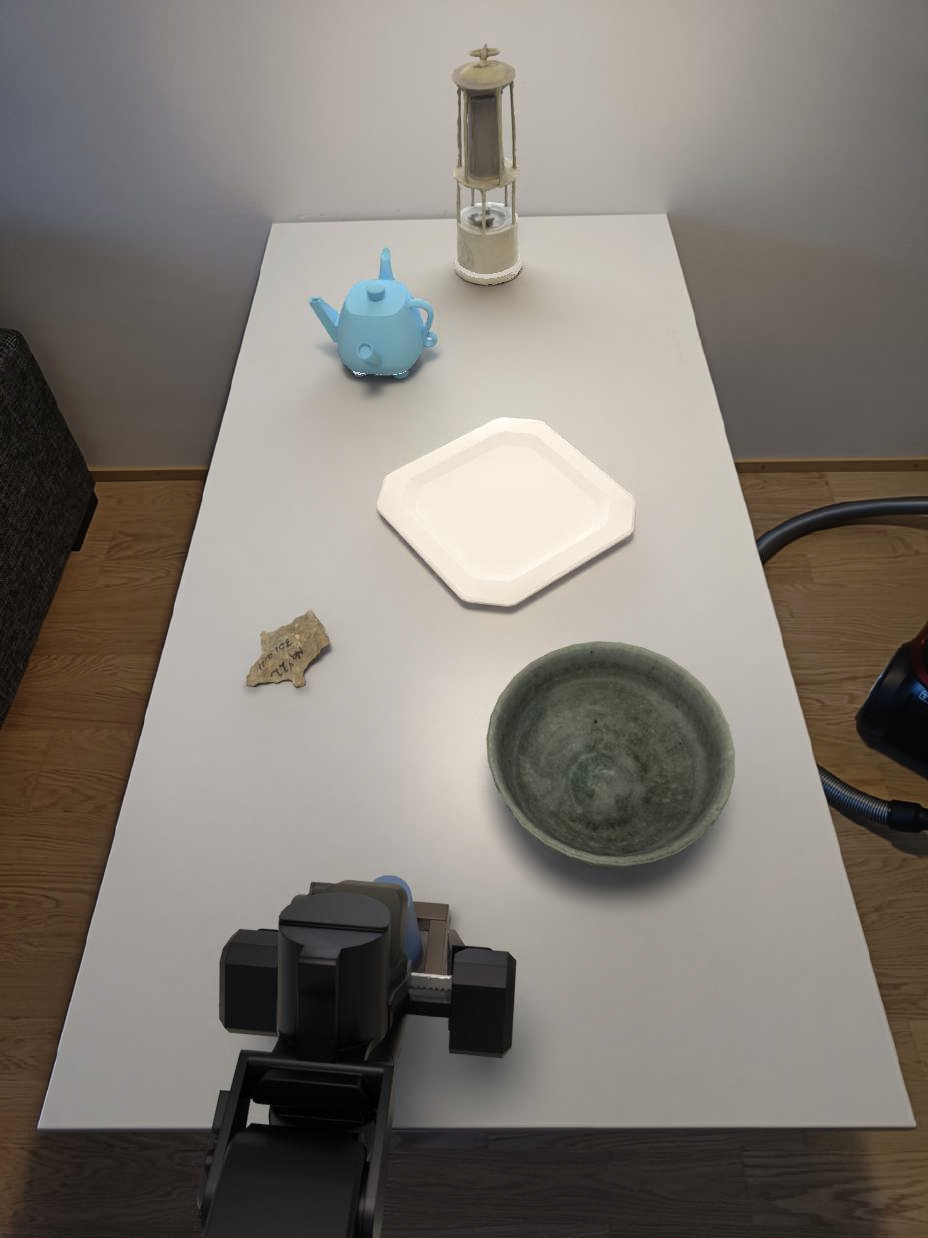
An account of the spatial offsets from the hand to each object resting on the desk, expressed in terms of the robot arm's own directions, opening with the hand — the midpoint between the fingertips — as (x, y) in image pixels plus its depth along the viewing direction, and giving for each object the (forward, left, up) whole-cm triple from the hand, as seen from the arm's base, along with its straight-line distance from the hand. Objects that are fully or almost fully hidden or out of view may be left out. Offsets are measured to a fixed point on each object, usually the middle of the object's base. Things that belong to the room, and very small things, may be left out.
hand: (389, 930), depth 65 cm
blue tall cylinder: (+1, 0, -10) cm, 10 cm away
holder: (+1, 0, -10) cm, 10 cm away
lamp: (+103, +23, -11) cm, 106 cm away
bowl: (+20, -12, -11) cm, 26 cm away
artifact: (+26, +22, -11) cm, 36 cm away
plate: (+52, +6, -11) cm, 54 cm away
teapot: (+76, +31, -11) cm, 82 cm away
